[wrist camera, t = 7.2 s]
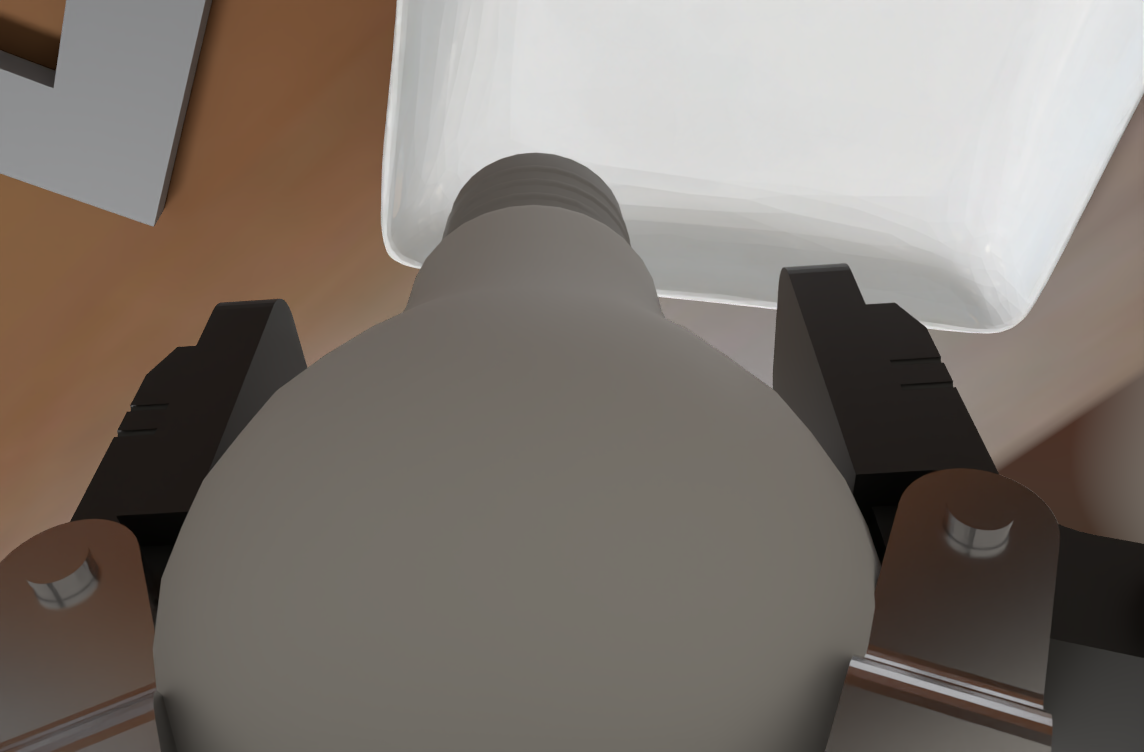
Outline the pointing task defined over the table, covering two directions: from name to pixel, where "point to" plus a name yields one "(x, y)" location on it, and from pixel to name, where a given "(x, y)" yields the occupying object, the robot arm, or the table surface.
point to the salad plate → (782, 134)
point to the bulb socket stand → (105, 104)
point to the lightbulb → (518, 522)
